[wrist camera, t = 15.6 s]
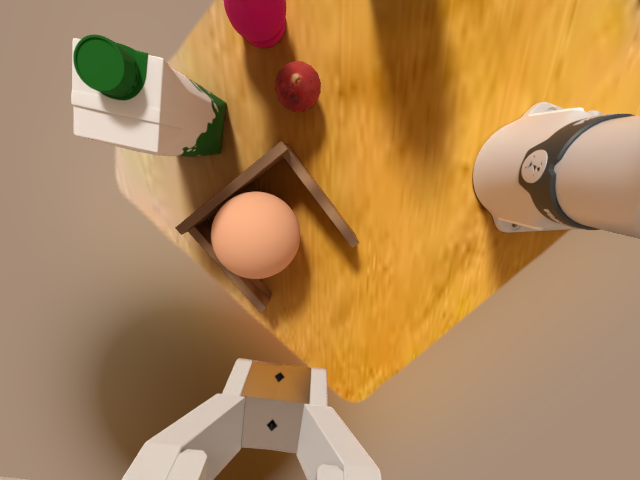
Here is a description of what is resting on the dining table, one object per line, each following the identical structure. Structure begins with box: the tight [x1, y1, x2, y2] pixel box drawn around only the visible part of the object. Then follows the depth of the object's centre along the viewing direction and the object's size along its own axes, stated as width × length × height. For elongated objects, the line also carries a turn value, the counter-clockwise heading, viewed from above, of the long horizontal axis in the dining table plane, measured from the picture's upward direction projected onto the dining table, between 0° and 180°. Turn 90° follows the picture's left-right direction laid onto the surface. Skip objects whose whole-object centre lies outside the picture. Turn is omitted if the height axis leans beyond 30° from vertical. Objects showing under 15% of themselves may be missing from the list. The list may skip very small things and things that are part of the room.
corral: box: [176, 141, 359, 313], centre depth 43 cm, size 17×18×7 cm
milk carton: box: [71, 35, 226, 157], centre depth 33 cm, size 9×9×20 cm
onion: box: [275, 61, 321, 112], centre depth 38 cm, size 6×6×8 cm
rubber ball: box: [211, 192, 300, 279], centre depth 41 cm, size 12×12×12 cm
